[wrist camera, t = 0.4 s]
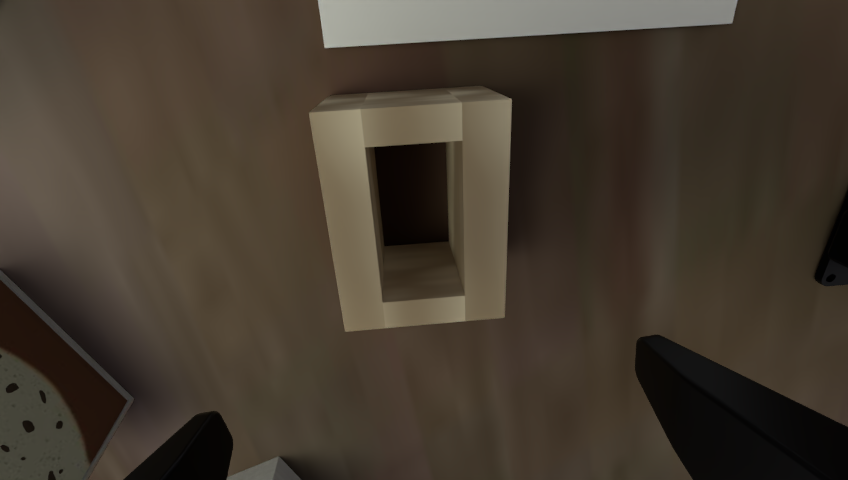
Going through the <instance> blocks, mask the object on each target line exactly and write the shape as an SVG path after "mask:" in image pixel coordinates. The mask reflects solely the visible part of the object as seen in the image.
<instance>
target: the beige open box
mask: <svg viewBox="0 0 848 480" xmlns="http://www.w3.org/2000/svg"><path fill="white" fill-rule="evenodd" d="M511 113H512V99H510V98H508V97H506V96H504V95H501V94H499V93H497V92H495V91H492V90H490V89H488V88H486V87H483V86H467V87H451V88H436V89H420V90H405V91H389V92H374V93H358V94H343V95H330V96H329V97H327V98H326V99H325V100H324V101H322V102H321V103H320V104H319V105H318V106H316V107H315V108H314V109H313V110H311V111H310V112H309V117H310V123H311V129H312V135H313V141H314V147H315V153H316V159H317V165H318V171H319V177H320V183H321V189H322V195H323V201H324V207H325V213H326V220H327V226H328V232H329V238H330V244H331V250H332V256H333V262H334V268H335V274H336V280H337V286H338V292H339V298H340V304H341V310H342V316H343V322H344V328H345V332H347V331H358V330H370V329H381V328H392V327H404V326H415V325H427V324H438V323H449V322H461V321H472V320H484V319H495V318H505V294H506V264H507V234H508V204H509V173H510V143H511ZM437 142H446V168H447V199H448V229H449V241H446V242H434V243H421V244H409V245H396V246H384V237H383V228H382V218H381V209H380V199H379V190H378V180H377V171H376V161H375V152H374V147H380V146H394V145H408V144H422V143H437Z"/></svg>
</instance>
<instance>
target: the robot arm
mask: <svg viewBox="0 0 848 480" xmlns="http://www.w3.org/2000/svg"><path fill="white" fill-rule="evenodd" d="M815 280H816V281H817V282H818V283H820V284H822V285H824V286H835V285H847V284H848V194H847V196H846V199H845V201H844V204H843V206H842V209H841V211H840V214H839V216H838V219H837V222H836V224H835V227H834V229H833V232H832V234H831V237H830V239H829V242H828V244H827V247H826V249H825V252H824V255H823V257H822V260H821V262H820V265H819V267H818V270H817V272H816V275H815ZM635 372H636V375H637V378H638V380H639V382H640V384H641V386H642V388H643V390H644V392H645V394H646V396H647V398H648V400H649V402H650V404H651V406H652V408H653V410H654V412H655V414H656V416H657V418H658V420H659V422H660V424H661V426H662V428H663V430H664V432H665V434H666V436H667V437H668V439H669V441H670V443H671V445H672V447H673V449H674V450H675V452H676V453H677V455H678V457H679V458H680V460H681V462H682V463H683V465H684V466H685V468H686V469H687V471H688V473H689V474H690V476H691V477H692V479H693V480H848V427H847V426H845V425H842V424H840V423H838V422H836V421H834V420H832V419H830V418H828V417H826V416H824V415H822V414H820V413H818V412H816V411H814V410H812V409H810V408H808V407H806V406H804V405H802V404H800V403H798V402H795V401H793V400H791V399H789V398H787V397H785V396H783V395H781V394H779V393H777V392H775V391H773V390H771V389H769V388H767V387H765V386H763V385H761V384H759V383H757V382H755V381H753V380H751V379H748V378H746V377H744V376H742V375H740V374H738V373H736V372H734V371H732V370H730V369H728V368H726V367H724V366H722V365H720V364H718V363H716V362H714V361H712V360H710V359H708V358H706V357H704V356H701V355H699V354H697V353H695V352H693V351H691V350H689V349H687V348H685V347H683V346H681V345H679V344H677V343H675V342H673V341H671V340H669V339H667V338H665V337H663V336H660V335H651V336H645V337H640V338H639V339H638V340H637V343H636V358H635ZM232 450H233V439H232V436H231V434H230V432H229V430H228V428H227V426H226V424H225V422H224V420H223V418H222V416H221V415H220V413H218V412H217V411H211V412H205V413H200V414H197V415H195V416H194V417H193V418H192V419H191V420H189V421H188V422H187V423H186V424H185V425H184V426H183V427H182V428H181V429H179V430H178V431H177V432H176V433H175V434H174V435H173V436H172V437H170V438H169V439H168V440H167V441H166V442H165V443H164V444H163V445H161V446H160V447H159V448H158V449H157V450H156V451H155V452H154V453H153V454H151V455H150V456H149V457H148V458H147V459H146V460H145V461H144V462H142V463H141V464H140V465H139V466H138V467H137V468H136V469H135V470H134V471H132V472H131V473H130V474H129V475H128V476H127V477H126V478H125V479H123V480H227V475H228V470H229V465H230V460H231V455H232Z"/></svg>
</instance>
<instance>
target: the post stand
mask: <svg viewBox="0 0 848 480" xmlns="http://www.w3.org/2000/svg"><path fill="white" fill-rule="evenodd" d="M318 4H319V11H320V18H321V25H322V32H323V39H324V46H325V48H334V47H351V46H368V45H384V44H401V43H418V42H434V41H451V40H468V39H484V38H501V37H517V36H534V35H551V34H567V33H584V32H601V31H617V30H634V29H651V28H667V27H684V26H700V25H717V24H732V22H733V18H734V13H735V9H736V5H737V0H318Z"/></svg>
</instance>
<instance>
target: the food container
mask: <svg viewBox="0 0 848 480" xmlns="http://www.w3.org/2000/svg"><path fill="white" fill-rule="evenodd" d="M133 401H134V398H133V397H132V396H131V395H130V394H129V393H128V392H127V391H126V390H125V389H124V388H123V387H122V386H120V385H119V384H118V383H117V382H116V381H115V380H114V379H113V378H112V377H111V376H110V375H109V374H108V373H107V372H106V371H105V370H104V369H103V368H102V367H101V366H100V365H99V364H98V363H97V362H96V361H95V360H93V359H92V358H91V357H90V356H89V355H88V354H87V353H86V352H85V351H84V350H83V349H82V348H81V347H80V346H79V345H78V344H77V343H76V342H75V341H74V340H73V339H72V338H71V337H70V336H69V335H68V334H66V333H65V332H64V331H63V330H62V329H61V328H60V327H59V326H58V325H57V324H56V323H55V322H54V321H53V320H52V319H51V318H50V317H49V316H48V315H47V314H46V313H45V312H44V311H43V310H42V309H41V308H39V307H38V306H37V305H36V304H35V303H34V302H33V301H32V300H31V299H30V298H29V297H28V296H27V295H26V294H25V293H24V292H23V291H22V290H21V289H20V288H19V287H18V286H17V285H16V284H15V283H14V282H12V281H11V280H10V279H9V278H8V277H7V276H6V275H5V274H4V273H3V272H2V271H1V270H0V480H88V479H89V477H90V475H91V473H92V472H93V470H94V468H95V466H96V465H97V463H98V461H99V460H100V458H101V456H102V454H103V453H104V451H105V449H106V448H107V446H108V444H109V442H110V441H111V439H112V437H113V435H114V434H115V432H116V430H117V429H118V427H119V425H120V423H121V422H122V420H123V418H124V417H125V415H126V413H127V411H128V410H129V408H130V406H131V404H132V403H133Z"/></svg>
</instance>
